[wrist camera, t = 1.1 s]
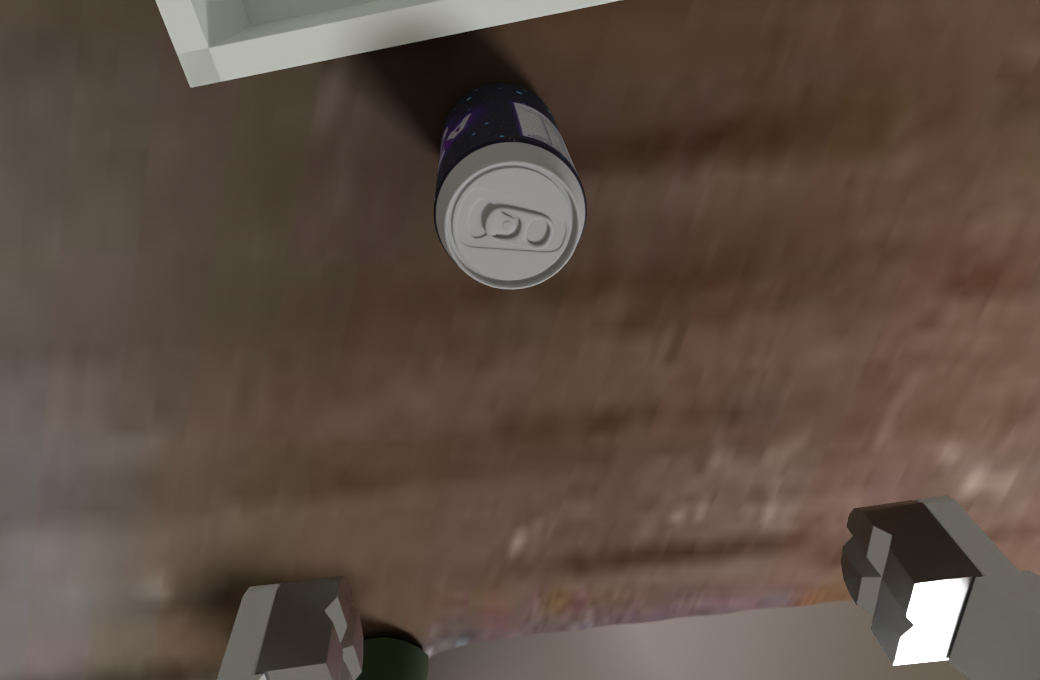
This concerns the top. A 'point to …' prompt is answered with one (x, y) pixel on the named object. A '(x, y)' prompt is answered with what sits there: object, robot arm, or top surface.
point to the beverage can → (507, 189)
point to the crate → (322, 29)
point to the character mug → (392, 660)
